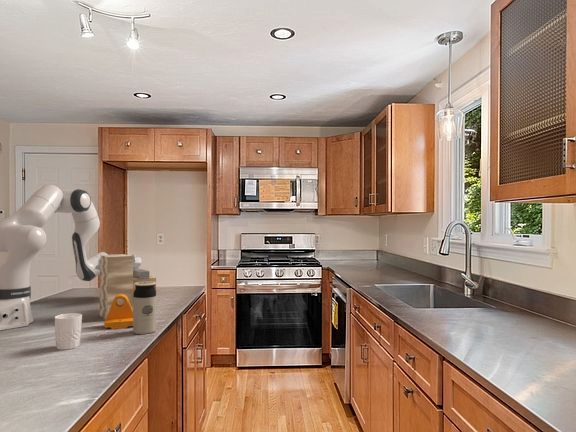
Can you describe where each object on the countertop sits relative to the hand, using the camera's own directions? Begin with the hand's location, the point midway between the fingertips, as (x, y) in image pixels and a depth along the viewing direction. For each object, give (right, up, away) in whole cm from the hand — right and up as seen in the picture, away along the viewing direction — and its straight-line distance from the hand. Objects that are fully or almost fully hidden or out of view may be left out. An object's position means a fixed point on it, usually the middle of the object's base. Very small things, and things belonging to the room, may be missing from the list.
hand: (124, 256), depth 199 cm
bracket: (+14, -24, -40) cm, 48 cm away
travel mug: (+26, -23, -47) cm, 59 cm away
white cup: (+8, -23, -66) cm, 70 cm away
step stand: (+10, -23, -21) cm, 33 cm away
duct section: (+11, -8, -14) cm, 20 cm away
